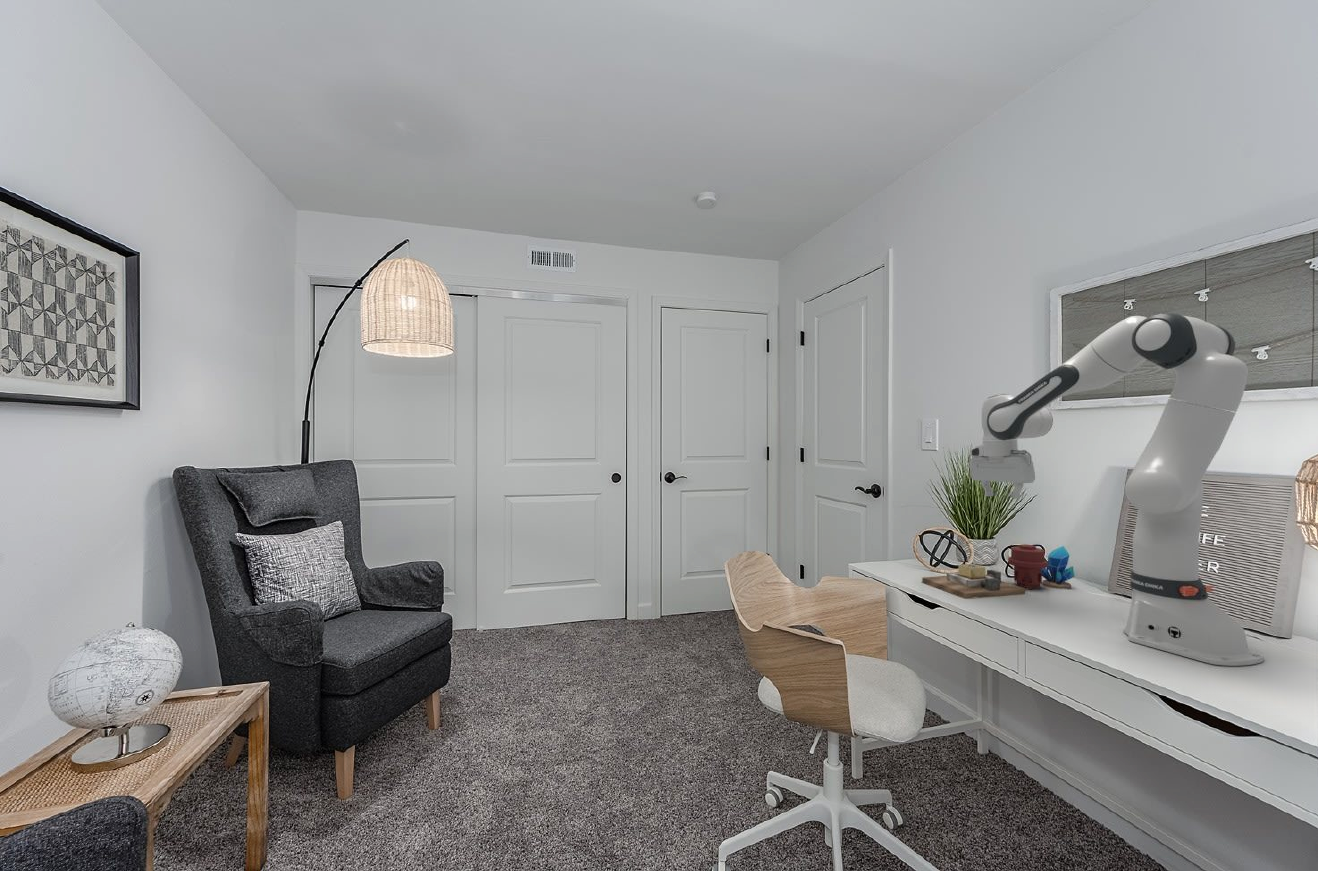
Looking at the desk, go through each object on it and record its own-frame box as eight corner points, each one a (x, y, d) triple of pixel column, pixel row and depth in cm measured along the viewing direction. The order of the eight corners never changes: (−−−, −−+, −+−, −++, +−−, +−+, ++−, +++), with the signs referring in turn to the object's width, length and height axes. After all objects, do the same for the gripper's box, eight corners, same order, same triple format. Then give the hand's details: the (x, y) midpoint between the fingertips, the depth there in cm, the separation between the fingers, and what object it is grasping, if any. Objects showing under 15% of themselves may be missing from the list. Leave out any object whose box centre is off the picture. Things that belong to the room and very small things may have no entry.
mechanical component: (1034, 592, 165) (1000, 584, 174) (1055, 588, 169) (1021, 580, 178) (1034, 550, 165) (1000, 544, 174) (1055, 546, 169) (1021, 541, 178)
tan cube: (985, 584, 169) (985, 567, 169) (971, 585, 167) (970, 568, 167) (972, 580, 173) (972, 563, 173) (958, 581, 172) (958, 564, 172)
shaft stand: (1025, 593, 164) (1025, 577, 164) (965, 598, 160) (965, 582, 160) (977, 578, 182) (977, 564, 182) (922, 582, 177) (922, 567, 177)
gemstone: (1056, 581, 177) (1056, 542, 177) (1078, 589, 168) (1078, 548, 168) (1033, 582, 176) (1033, 543, 176) (1054, 589, 168) (1054, 548, 168)
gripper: (1039, 449, 159) (1042, 499, 159) (982, 450, 179) (984, 494, 179) (1021, 450, 158) (1023, 500, 157) (965, 450, 178) (967, 495, 177)
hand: (1002, 497), depth 168 cm, fingers open, 8 cm apart
